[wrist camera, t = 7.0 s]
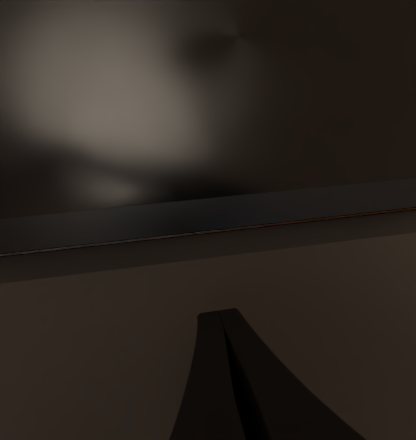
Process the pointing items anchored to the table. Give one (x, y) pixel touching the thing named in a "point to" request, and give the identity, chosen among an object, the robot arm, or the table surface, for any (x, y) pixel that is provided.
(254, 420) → the robot arm
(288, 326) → the laptop screen
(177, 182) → the laptop
